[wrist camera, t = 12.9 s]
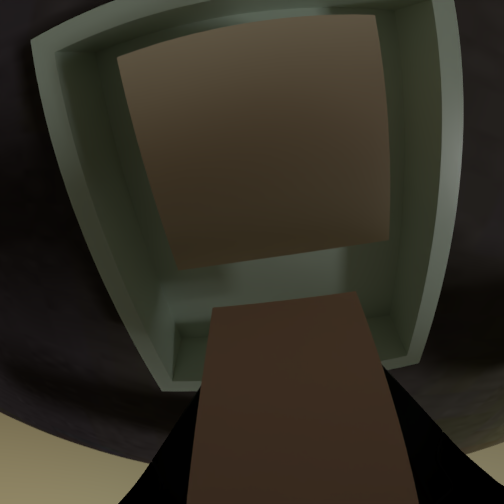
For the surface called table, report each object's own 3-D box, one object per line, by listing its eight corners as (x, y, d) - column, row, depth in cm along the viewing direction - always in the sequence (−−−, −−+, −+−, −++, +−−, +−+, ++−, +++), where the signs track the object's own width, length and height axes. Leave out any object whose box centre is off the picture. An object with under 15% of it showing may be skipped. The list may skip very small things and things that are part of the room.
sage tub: (397, 313, 16) (419, 363, 13) (174, 338, 17) (161, 391, 14) (401, -4, 8) (450, -20, 5) (83, 41, 9) (30, 40, 6)
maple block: (326, 154, 11) (388, 240, 6) (213, 171, 11) (178, 270, 6) (311, 42, 9) (374, 15, 4) (189, 62, 9) (116, 57, 4)
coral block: (347, 375, 11) (376, 533, 6) (237, 388, 11) (230, 547, 6) (355, 290, 9) (419, 505, 4) (212, 307, 9) (183, 527, 4)
